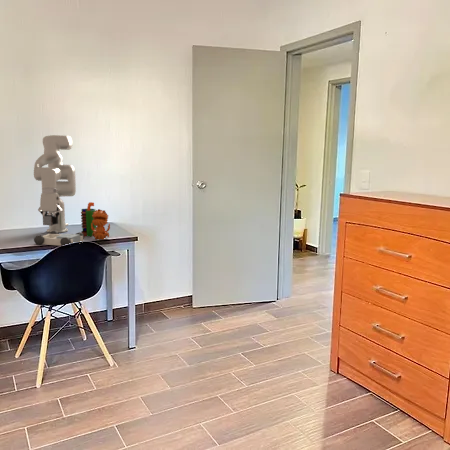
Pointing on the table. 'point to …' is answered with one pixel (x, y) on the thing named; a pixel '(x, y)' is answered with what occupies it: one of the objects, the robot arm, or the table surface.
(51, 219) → the engine block
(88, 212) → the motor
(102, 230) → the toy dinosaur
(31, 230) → the table surface
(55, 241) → the chassis
